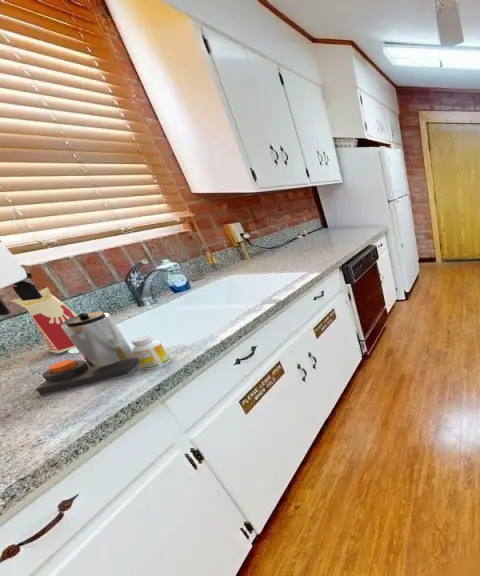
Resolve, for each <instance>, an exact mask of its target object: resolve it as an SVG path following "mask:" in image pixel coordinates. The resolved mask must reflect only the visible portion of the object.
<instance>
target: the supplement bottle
mask: <svg viewBox="0 0 480 576" xmlns="http://www.w3.org/2000/svg"><path fill="white" fill-rule="evenodd" d="M131 343H132V345H133V348H132V351H133V352H134V353H135V355H136V357H137V358H138V360H139V361H140V363H139V364H140V365H141V366H142V368H143V369H144V370H152V369H156V368H158V367H162V366H164V365H166V364H167V363H169V362H170V361H171V358H170V357H169V355H168V353H167V351H166V350H165V348H164V347H163V345H162V343H161V341H159V340H158V339H155V337H154V336H153V335H152V334H143V335H139V336H137V337H135V338H133V339H131Z"/></svg>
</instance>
